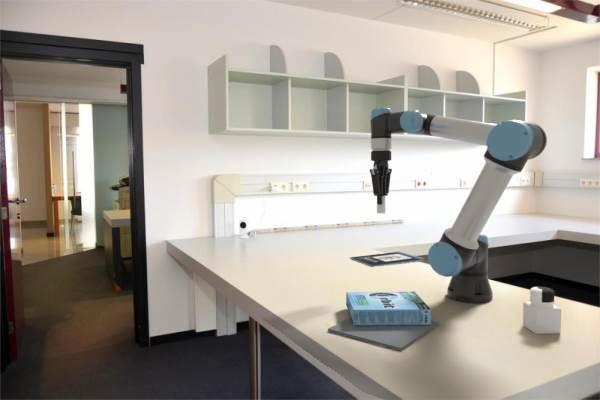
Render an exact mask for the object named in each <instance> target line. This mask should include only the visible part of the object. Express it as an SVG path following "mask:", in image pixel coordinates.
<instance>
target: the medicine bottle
mask: <svg viewBox="0 0 600 400" xmlns="http://www.w3.org/2000/svg"><path fill="white" fill-rule="evenodd" d="M529 292H530V293H529V298H530V299H529V301H523V303H522V304H523V307H522V308H523V310H522V325H523V327H525V328H527V329H528V330H530V331H531V332H532V333H534V334H536V335H548V334H549V335H550V334H551V335H552V334H555V335H556V334H561V332H562V329H561V328H562V308H560V307H559V306H557V305H555V290H554V289H552V288H549V287H547V286H533V287H531V288H530V289H529Z"/></svg>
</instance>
